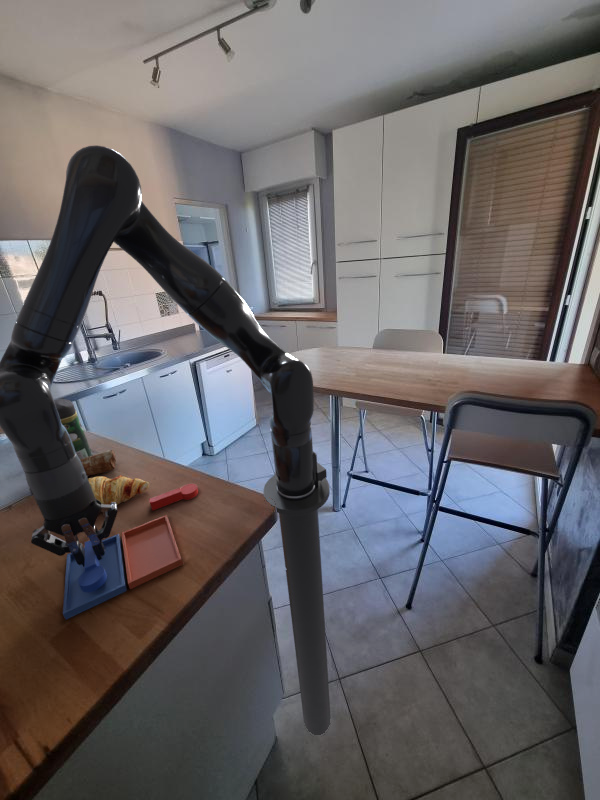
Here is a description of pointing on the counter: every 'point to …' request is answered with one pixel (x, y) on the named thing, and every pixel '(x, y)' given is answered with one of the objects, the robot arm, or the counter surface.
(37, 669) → the counter surface
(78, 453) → the coffee jar
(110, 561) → the blue tray
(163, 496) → the red spoon
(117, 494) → the croissant
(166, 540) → the terracotta tray
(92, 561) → the blue spoon
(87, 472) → the bread
